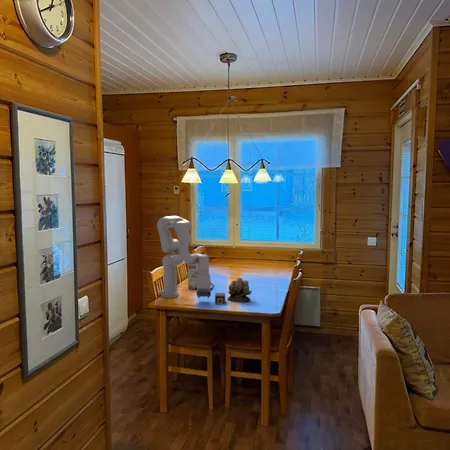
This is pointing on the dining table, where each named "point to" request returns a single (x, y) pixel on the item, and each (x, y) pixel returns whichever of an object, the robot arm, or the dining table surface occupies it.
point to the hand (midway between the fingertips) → (203, 296)
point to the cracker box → (192, 275)
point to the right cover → (219, 296)
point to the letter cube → (219, 300)
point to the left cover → (203, 293)
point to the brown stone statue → (239, 291)
